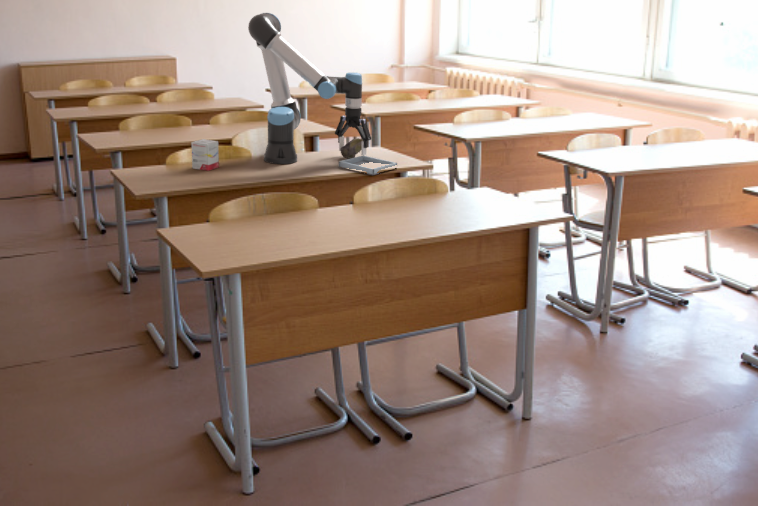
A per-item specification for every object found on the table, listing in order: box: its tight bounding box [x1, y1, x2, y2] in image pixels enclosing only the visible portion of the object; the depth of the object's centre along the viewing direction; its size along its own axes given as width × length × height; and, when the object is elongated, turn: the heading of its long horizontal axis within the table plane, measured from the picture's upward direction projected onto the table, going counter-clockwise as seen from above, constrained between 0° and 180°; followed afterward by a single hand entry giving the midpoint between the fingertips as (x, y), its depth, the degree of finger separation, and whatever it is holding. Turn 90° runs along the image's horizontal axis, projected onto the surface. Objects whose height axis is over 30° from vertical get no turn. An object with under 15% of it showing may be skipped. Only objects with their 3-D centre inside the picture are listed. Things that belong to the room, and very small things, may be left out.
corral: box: [338, 155, 398, 176], centre depth 376 cm, size 20×18×3 cm
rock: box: [340, 137, 363, 159], centre depth 391 cm, size 11×10×10 cm
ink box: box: [190, 138, 220, 171], centre depth 362 cm, size 9×9×12 cm
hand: (352, 152), depth 392 cm, fingers open, 13 cm apart
